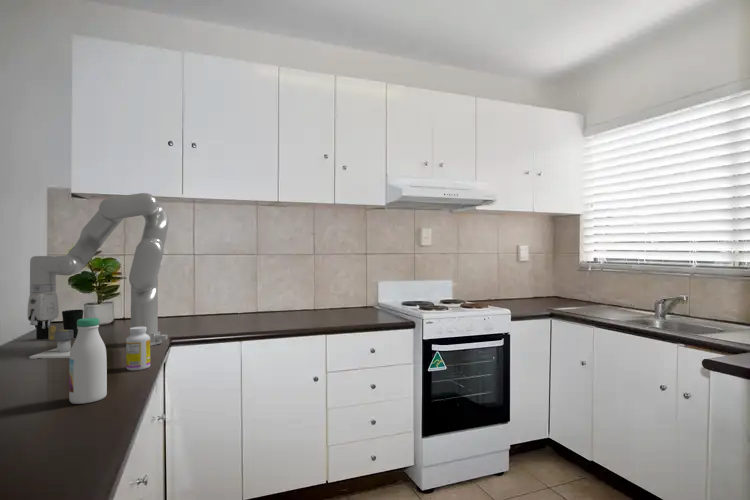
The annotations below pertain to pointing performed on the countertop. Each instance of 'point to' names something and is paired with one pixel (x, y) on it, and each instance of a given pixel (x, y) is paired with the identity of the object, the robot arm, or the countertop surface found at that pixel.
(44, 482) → the countertop surface
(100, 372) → the milk bottle
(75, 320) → the cup
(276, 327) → the countertop surface
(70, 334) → the grey yellow elongated block
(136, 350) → the supplement bottle
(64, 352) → the base plate
